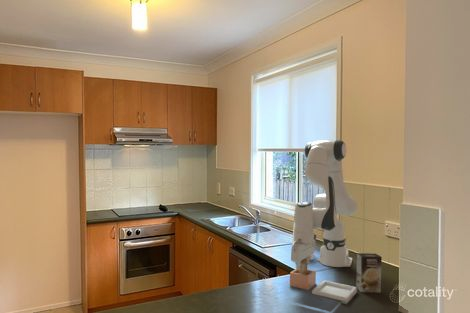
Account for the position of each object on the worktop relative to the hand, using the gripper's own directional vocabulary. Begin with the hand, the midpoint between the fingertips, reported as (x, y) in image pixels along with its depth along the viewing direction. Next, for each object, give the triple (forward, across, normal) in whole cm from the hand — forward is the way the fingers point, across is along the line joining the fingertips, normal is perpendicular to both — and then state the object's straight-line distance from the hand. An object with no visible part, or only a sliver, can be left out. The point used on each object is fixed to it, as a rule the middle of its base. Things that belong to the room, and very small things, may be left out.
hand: (303, 267), depth 168 cm
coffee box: (+9, +14, -26) cm, 31 cm away
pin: (+8, 0, 0) cm, 8 cm away
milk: (+9, +47, +20) cm, 52 cm away
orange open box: (+9, 0, 0) cm, 9 cm away
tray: (+9, 0, -15) cm, 18 cm away
